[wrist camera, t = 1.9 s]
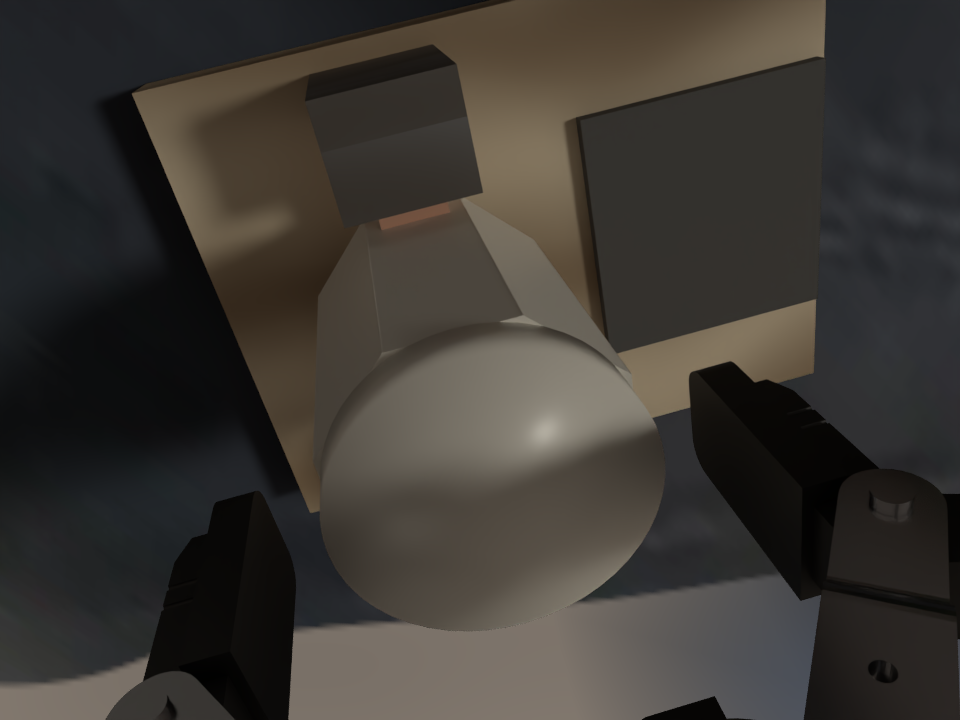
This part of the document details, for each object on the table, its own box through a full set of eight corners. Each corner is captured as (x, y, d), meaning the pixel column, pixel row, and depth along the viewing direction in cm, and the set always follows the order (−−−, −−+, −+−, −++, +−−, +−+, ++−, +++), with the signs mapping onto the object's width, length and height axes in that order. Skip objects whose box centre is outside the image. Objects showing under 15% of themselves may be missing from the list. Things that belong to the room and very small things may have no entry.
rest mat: (575, 117, 19) (580, 120, 19) (816, 56, 19) (825, 58, 19) (606, 349, 22) (610, 354, 22) (809, 293, 23) (817, 298, 22)
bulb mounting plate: (146, 83, 18) (-21, 198, 10) (794, -74, 19) (1179, -101, 10) (311, 483, 25) (302, 767, 16) (789, 351, 26) (1023, 552, 17)
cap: (268, 166, 17) (225, 313, 10) (514, 104, 17) (640, 204, 10) (375, 471, 21) (398, 719, 14) (568, 417, 22) (681, 635, 15)
